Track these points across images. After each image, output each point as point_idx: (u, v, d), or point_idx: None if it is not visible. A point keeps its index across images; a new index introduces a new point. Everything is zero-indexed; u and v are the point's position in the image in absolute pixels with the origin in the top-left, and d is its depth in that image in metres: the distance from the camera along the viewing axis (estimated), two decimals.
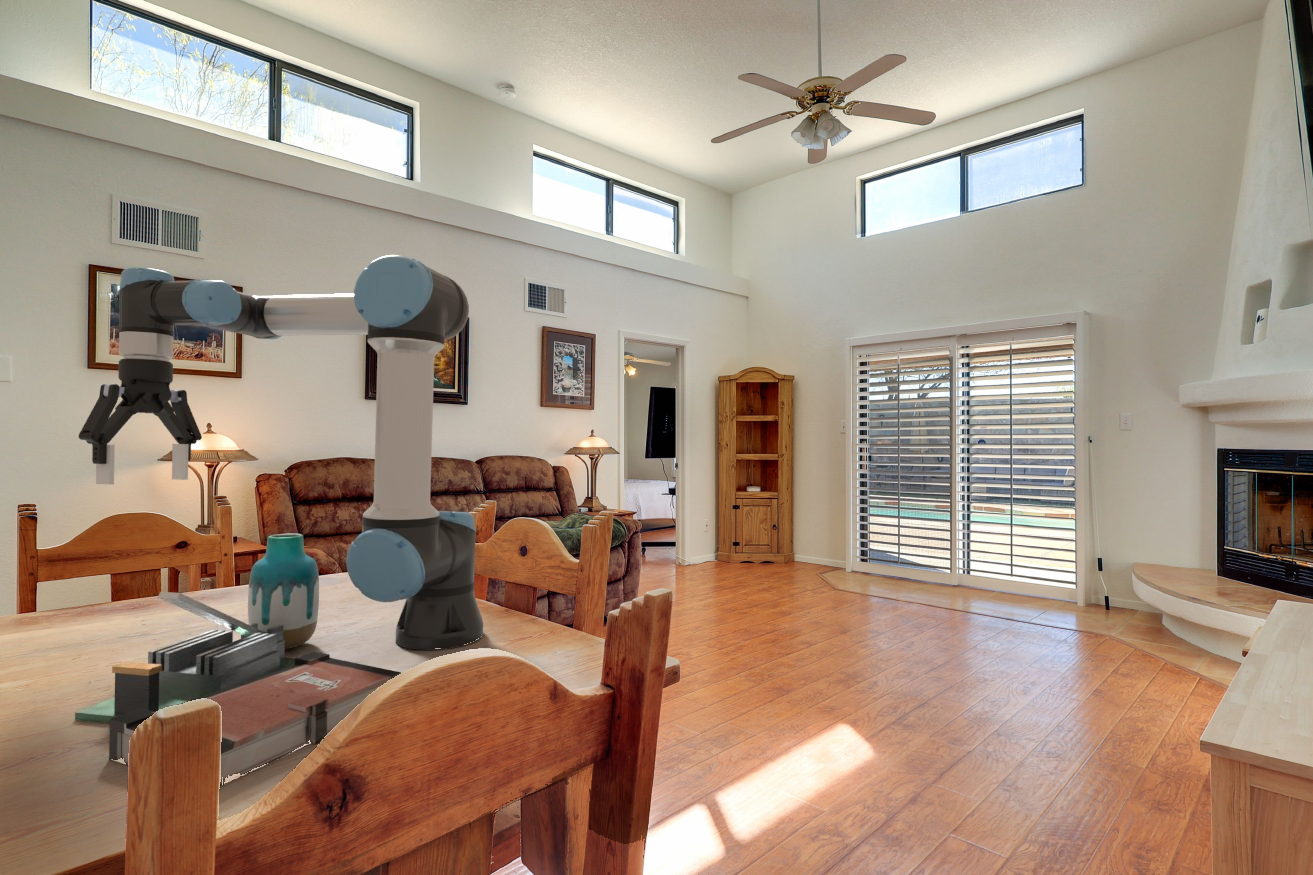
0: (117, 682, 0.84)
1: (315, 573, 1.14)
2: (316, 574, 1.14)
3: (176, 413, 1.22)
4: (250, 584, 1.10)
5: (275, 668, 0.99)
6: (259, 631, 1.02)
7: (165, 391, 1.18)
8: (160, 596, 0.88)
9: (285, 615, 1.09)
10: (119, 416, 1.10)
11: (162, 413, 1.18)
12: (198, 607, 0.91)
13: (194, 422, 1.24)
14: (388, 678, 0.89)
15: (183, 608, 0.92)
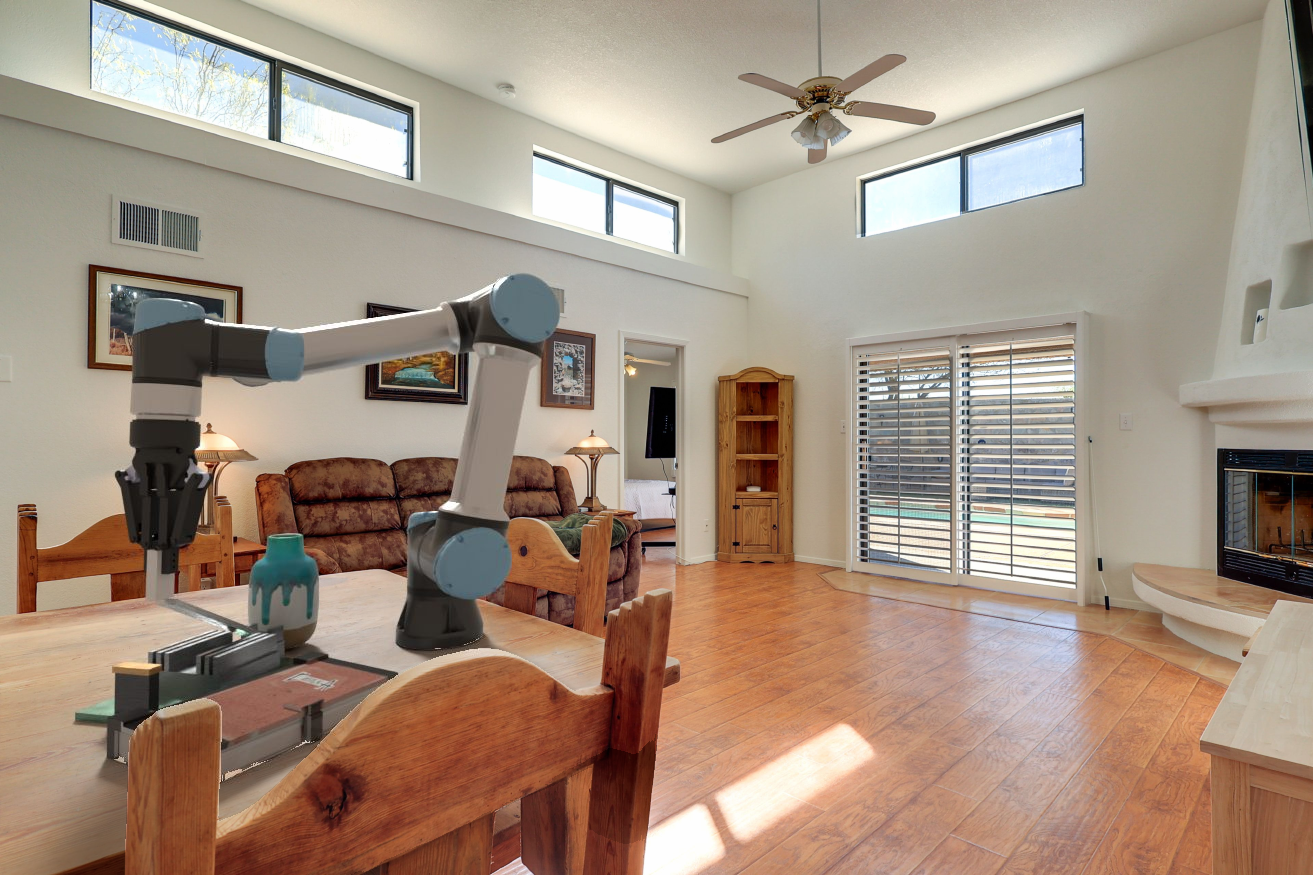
0: (117, 682, 0.84)
1: (315, 573, 1.14)
2: (316, 574, 1.14)
3: None
4: (250, 584, 1.10)
5: (275, 668, 0.99)
6: (259, 632, 1.02)
7: (177, 458, 0.86)
8: (157, 602, 0.88)
9: (285, 615, 1.09)
10: None
11: None
12: (196, 612, 0.91)
13: (181, 520, 0.85)
14: (385, 678, 0.89)
15: None
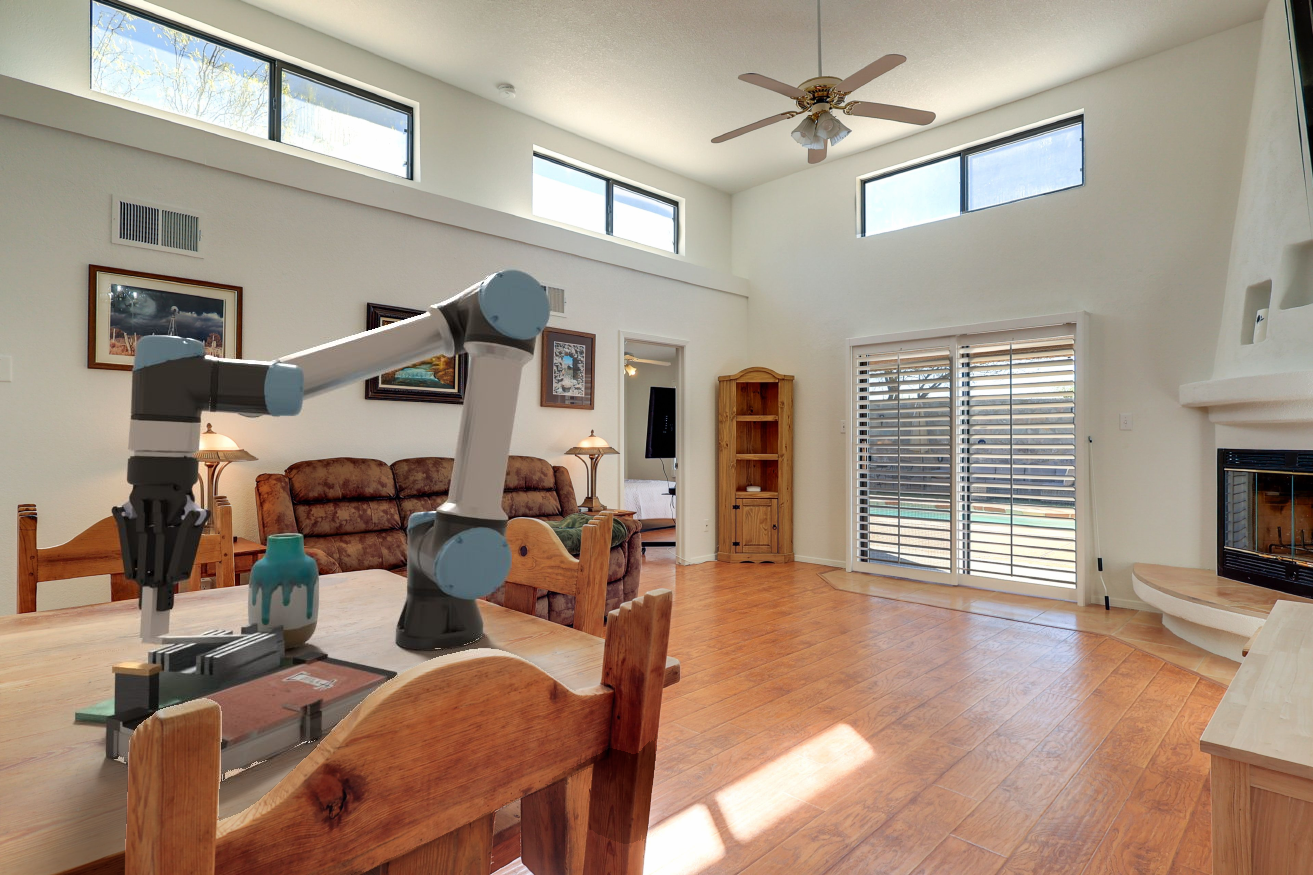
0: (117, 682, 0.84)
1: (315, 573, 1.14)
2: (316, 574, 1.14)
3: None
4: (250, 584, 1.10)
5: (275, 668, 0.99)
6: None
7: (174, 495, 0.86)
8: (144, 641, 0.86)
9: (285, 615, 1.09)
10: None
11: None
12: (186, 642, 0.89)
13: (178, 557, 0.85)
14: (384, 678, 0.90)
15: None
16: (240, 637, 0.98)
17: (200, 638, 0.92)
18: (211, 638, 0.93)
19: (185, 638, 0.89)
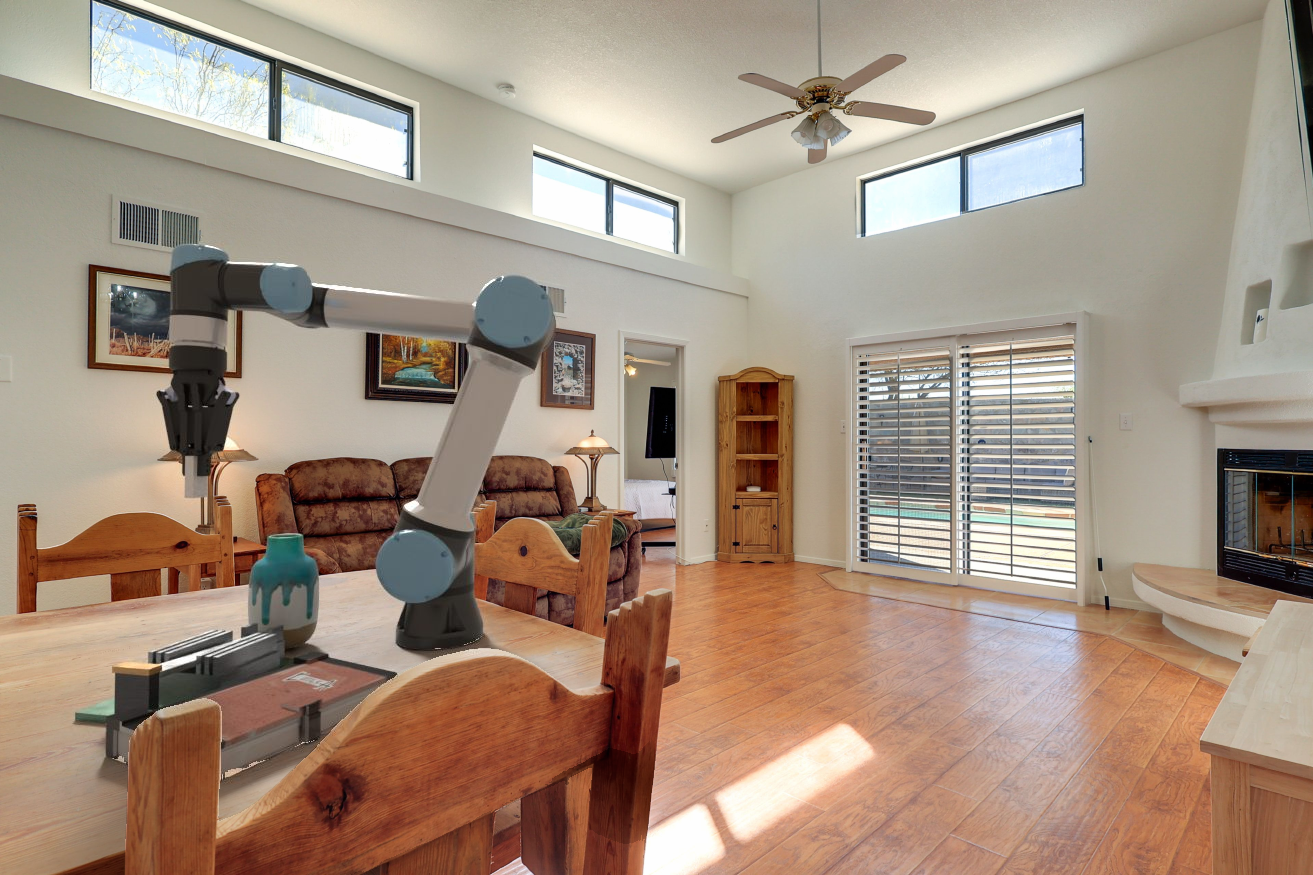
0: (117, 682, 0.84)
1: (315, 573, 1.14)
2: (316, 574, 1.14)
3: None
4: (250, 584, 1.10)
5: (275, 668, 0.99)
6: None
7: (209, 379, 1.02)
8: None
9: (285, 615, 1.09)
10: None
11: None
12: (183, 669, 0.89)
13: (213, 430, 1.02)
14: (384, 678, 0.89)
15: None
16: None
17: None
18: None
19: (181, 665, 0.89)
